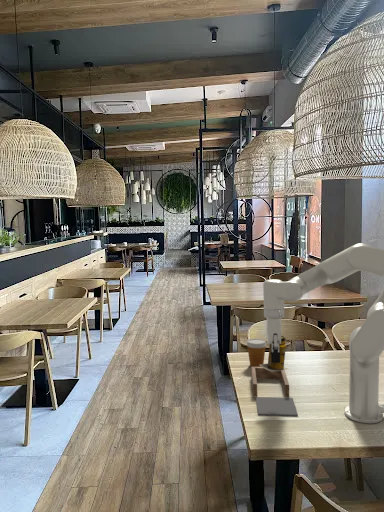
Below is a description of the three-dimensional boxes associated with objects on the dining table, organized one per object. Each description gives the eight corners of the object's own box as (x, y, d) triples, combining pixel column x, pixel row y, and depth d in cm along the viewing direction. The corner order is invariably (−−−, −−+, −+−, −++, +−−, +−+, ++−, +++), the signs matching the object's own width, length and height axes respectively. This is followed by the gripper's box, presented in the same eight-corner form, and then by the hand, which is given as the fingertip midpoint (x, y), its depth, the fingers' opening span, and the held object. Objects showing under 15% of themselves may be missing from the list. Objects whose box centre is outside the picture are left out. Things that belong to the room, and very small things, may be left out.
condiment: (288, 369, 156) (291, 338, 155) (271, 372, 151) (274, 340, 150) (275, 362, 162) (278, 333, 161) (258, 365, 158) (261, 334, 156)
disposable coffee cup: (245, 362, 204) (245, 338, 203) (265, 362, 203) (265, 338, 202) (247, 369, 194) (247, 344, 193) (268, 369, 194) (267, 343, 193)
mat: (292, 399, 161) (292, 397, 161) (297, 416, 147) (297, 414, 147) (256, 398, 162) (256, 397, 162) (257, 415, 148) (257, 413, 148)
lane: (283, 378, 182) (283, 367, 182) (289, 397, 163) (289, 384, 162) (251, 377, 184) (251, 366, 183) (253, 396, 164) (253, 384, 164)
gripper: (263, 307, 164) (264, 352, 166) (264, 318, 147) (265, 367, 149) (282, 307, 163) (283, 352, 165) (286, 317, 146) (287, 367, 148)
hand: (275, 359), depth 157 cm, fingers closed on condiment, 6 cm apart
